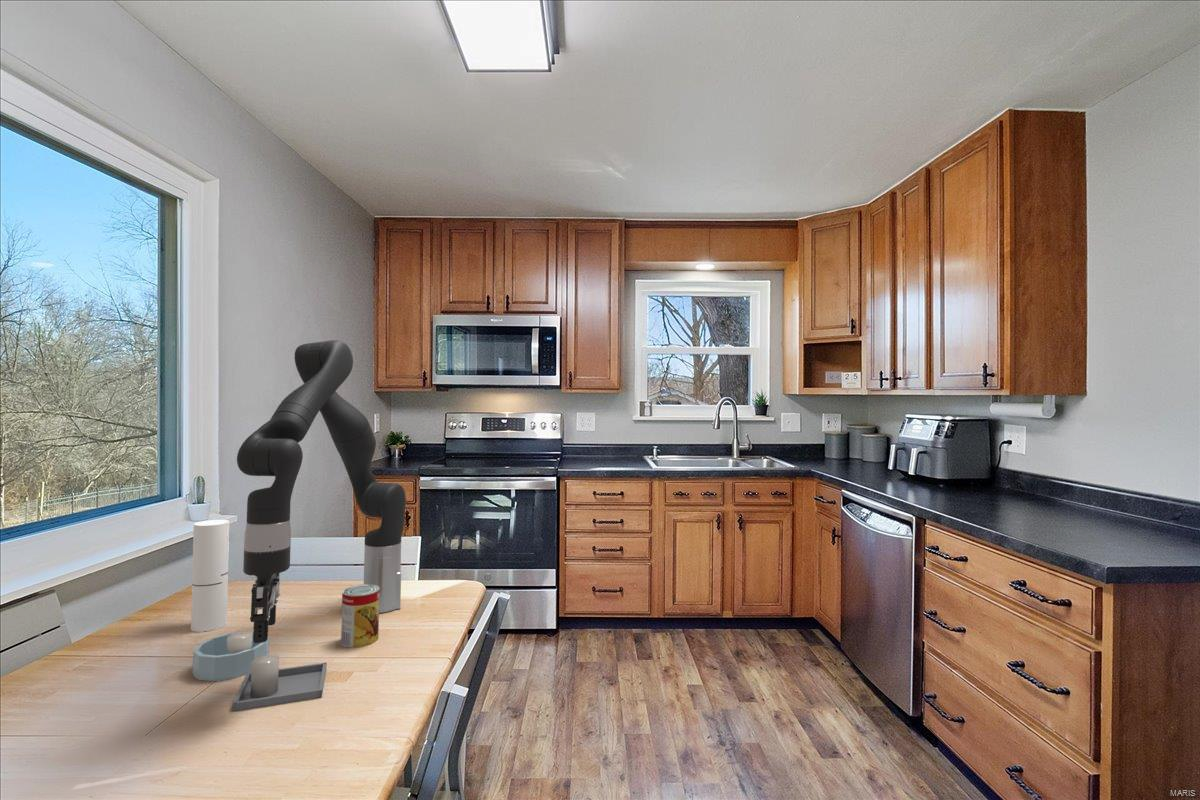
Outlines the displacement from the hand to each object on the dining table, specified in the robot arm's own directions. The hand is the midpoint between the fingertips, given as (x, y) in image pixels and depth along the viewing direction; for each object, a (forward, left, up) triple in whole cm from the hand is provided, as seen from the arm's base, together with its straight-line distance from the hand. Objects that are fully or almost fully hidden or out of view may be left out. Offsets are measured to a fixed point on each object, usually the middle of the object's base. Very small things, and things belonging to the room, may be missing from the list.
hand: (264, 633), depth 105 cm
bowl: (+8, -15, -12) cm, 20 cm away
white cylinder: (0, 0, -11) cm, 11 cm away
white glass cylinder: (+6, -13, -11) cm, 18 cm away
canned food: (-16, -20, -12) cm, 28 cm away
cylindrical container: (+18, -42, -12) cm, 47 cm away
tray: (-3, -1, -12) cm, 12 cm away
